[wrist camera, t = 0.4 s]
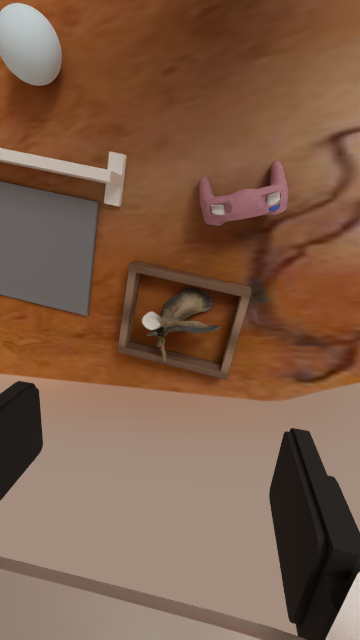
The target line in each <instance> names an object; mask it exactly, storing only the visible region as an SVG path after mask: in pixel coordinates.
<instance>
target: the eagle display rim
mask: <svg viewBox="0 0 360 640" xmlns="http://www.w3.org/2000/svg"><path fill="white" fill-rule="evenodd" d="M141 274H145V275H150V276H154V277H158V278H163V279H167V280H171V281H176V282H180V283H184V284H189V285H193V286H197V287H202V288H206V289H210V290H215V291H219V292H223V293H228V294H232V295H236V296H240V298H239V301H238V305H237V308H236V312H235V316H234V319H233V323H232V326H231V330H230V334H229V337H228V341H227V344H226V348H225V352H224V355H223V359H222V362H221V364H220V363H216V362H212V361H208V360H204V359H200V358H196V357H192V356H188V355H184V354H180V353H176V352H172V351H168V350H165V353H166V360H165V361H163V358H162V352H161V349H160V348H156V347H152V346H148V345H144V344H140V343H136V342H132V341H130V340H131V334H132V327H133V321H134V314H135V308H136V301H137V295H138V288H139V282H140V275H141ZM251 292H252V290H251V288H250V287H248V286H243V285H239V284H235V283H230V282H226V281H221V280H217V279H213V278H208V277H204V276H199V275H195V274H191V273H186V272H182V271H177V270H173V269H169V268H164V267H160V266H155V265H151V264H146V263H142V262H138V261H134V262H131V263H130V265H129V272H128V279H127V286H126V294H125V301H124V308H123V315H122V322H121V330H120V337H119V344H118V351H117V352H119V353H123V354H127V355H131V356H135V357H139V358H142V359H146V360H150V361H154V362H158V363H162V364H166V365H170V366H174V367H178V368H182V369H186V370H189V371H193V372H197V373H201V374H205V375H209V376H213V377H217V378H221V379H225V380H226V378H227V375H228V371H229V368H230V365H231V361H232V358H233V354H234V351H235V347H236V344H237V340H238V337H239V334H240V330H241V327H242V323H243V320H244V316H245V313H246V309H247V306H248V303H249V299H250V296H251Z"/></svg>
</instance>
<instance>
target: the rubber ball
mask: <svg viewBox="0 0 360 640" xmlns="http://www.w3.org/2000/svg"><path fill="white" fill-rule="evenodd" d="M0 55H1V58H2V59H3V61H4V63H5V64H6V66H7V67H8V68H9V69H10V71H11V72H12V73H13V74H14V75H16V76H17V77H18V78H19V79H21V80H22V81H24V82H26V83H28V84H31V85H37V86H42V85H47V84H49V83H51V82H52V81H53V80H54V79H55V78H56V77H57V75H58V74H59V71H60V69H61V64H62V51H61V46H60V42H59V39H58V37H57V34H56V32H55V30H54V29H53V27H52V25H51V24H50V23H49V21H48V20H47V19H46V18H45V17H44V16H43V15H42V14H41V13H40V12H39V11H37V10H36V9H34V8H33V7H31V6H28V5H26V4H21V3H14V4H10V5H8V6H6V7H4V8H3V9H2V10H1V11H0Z"/></svg>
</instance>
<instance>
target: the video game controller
mask: <svg viewBox="0 0 360 640" xmlns="http://www.w3.org/2000/svg"><path fill="white" fill-rule="evenodd" d="M199 197H200V205H201V209H202V213H203V218H204V222H205V223H206V224H210V225H217V226H220V225H222V224H223V223H225V222H227V221H236V220H242V219H248V218H252V217H257V216H261V215H275V214H279V213H281V212H283V211H285V210H286V208H287V202H288V186H287V182H286V178H285V174H284V170H283V166H282V164H281V163H280V162H279V161H278V160H275V161H274V162H273V164H272V167H271V178H270V186H266V187H262V188H258V189H242V190H239V191H236V192H234V193H232V194H230V195H223V196H218V197H214V195H213V193H212V189H211V186H210V182H209V180H208V179H207V178H206V177H205V176H203V177H202V178H201V179H200V183H199Z"/></svg>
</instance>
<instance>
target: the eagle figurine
mask: <svg viewBox="0 0 360 640" xmlns="http://www.w3.org/2000/svg"><path fill="white" fill-rule="evenodd" d="M212 300H213V299H212V298H211V295H210V294H207V292H206V291H202V292H201V289H198V290H197V289H196V288H191V289H187V290H184V291H183V292H181V293H179V294H178V295H176V296H175V297H173V298H171V299H169V300H168V301H167V302H166V304H164V307H163V309H164V310H163V314H162V317H161V316H159V315H157V314H156V313H154V312H148V313H147V314H146V315H144V316H143V318H142V324H143V325H144V327H146V328H147V329H149V330H152V331H154V332H152V333H148V334H147V336H156V337H157V336H158V342H157V344H156V346H157V347H160V349H161V352H162V358H163V361H165V360H166V353H165V348H164V344H165V338H166V337H167V334H169V333H170V332H173V331H175V332H180V331H185V332H187V331H188V332H189V333H204V332H212V331H215V330H218V329H219V328H221V327H220V326H211V325H206V324H204V323H201V322H198V321H184V320H185V319H186V318H188V317H189V316H191V315H194V314H196V313H198V312H204V311H208V310H211V306H212V302H211V301H212ZM157 328H159V329H157Z"/></svg>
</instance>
